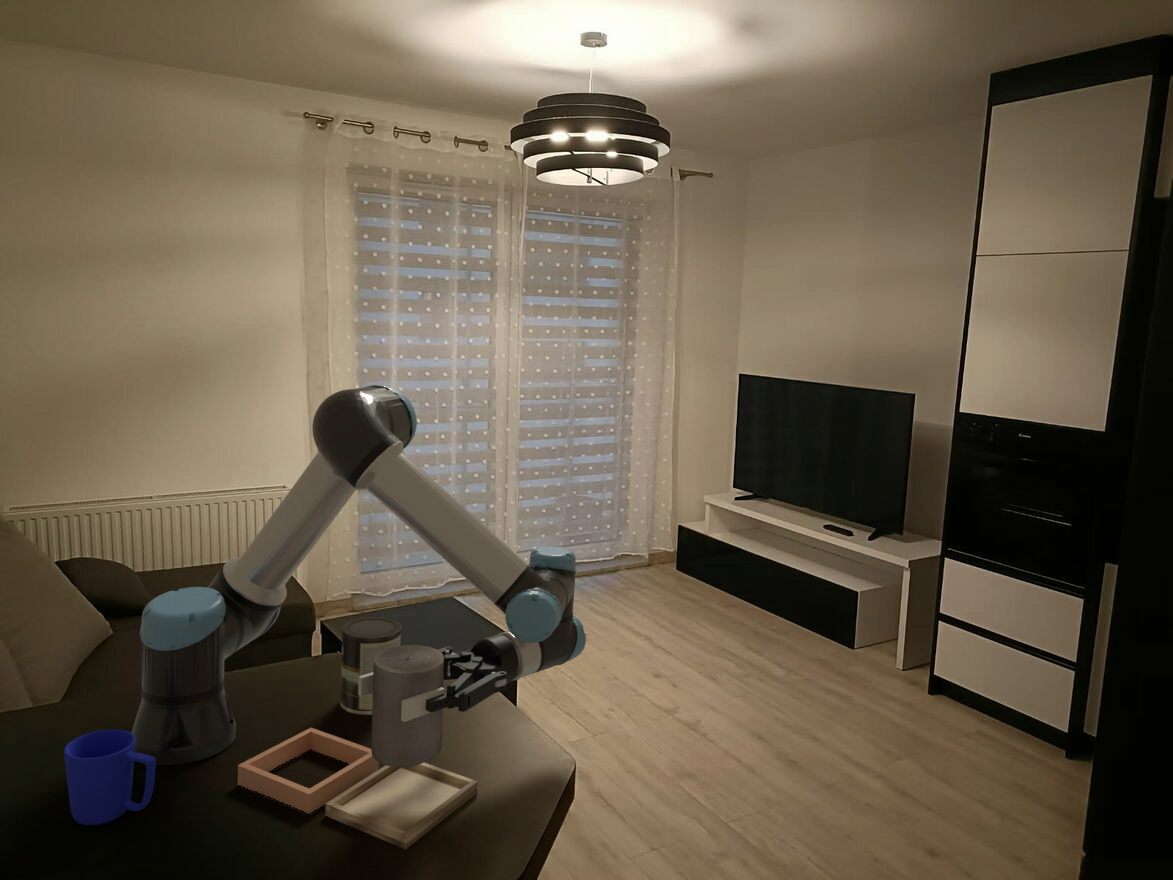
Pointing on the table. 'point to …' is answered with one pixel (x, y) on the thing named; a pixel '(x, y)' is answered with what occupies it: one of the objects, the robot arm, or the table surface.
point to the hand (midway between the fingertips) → (380, 698)
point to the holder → (300, 797)
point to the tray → (401, 802)
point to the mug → (104, 776)
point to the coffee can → (363, 657)
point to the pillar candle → (393, 682)
